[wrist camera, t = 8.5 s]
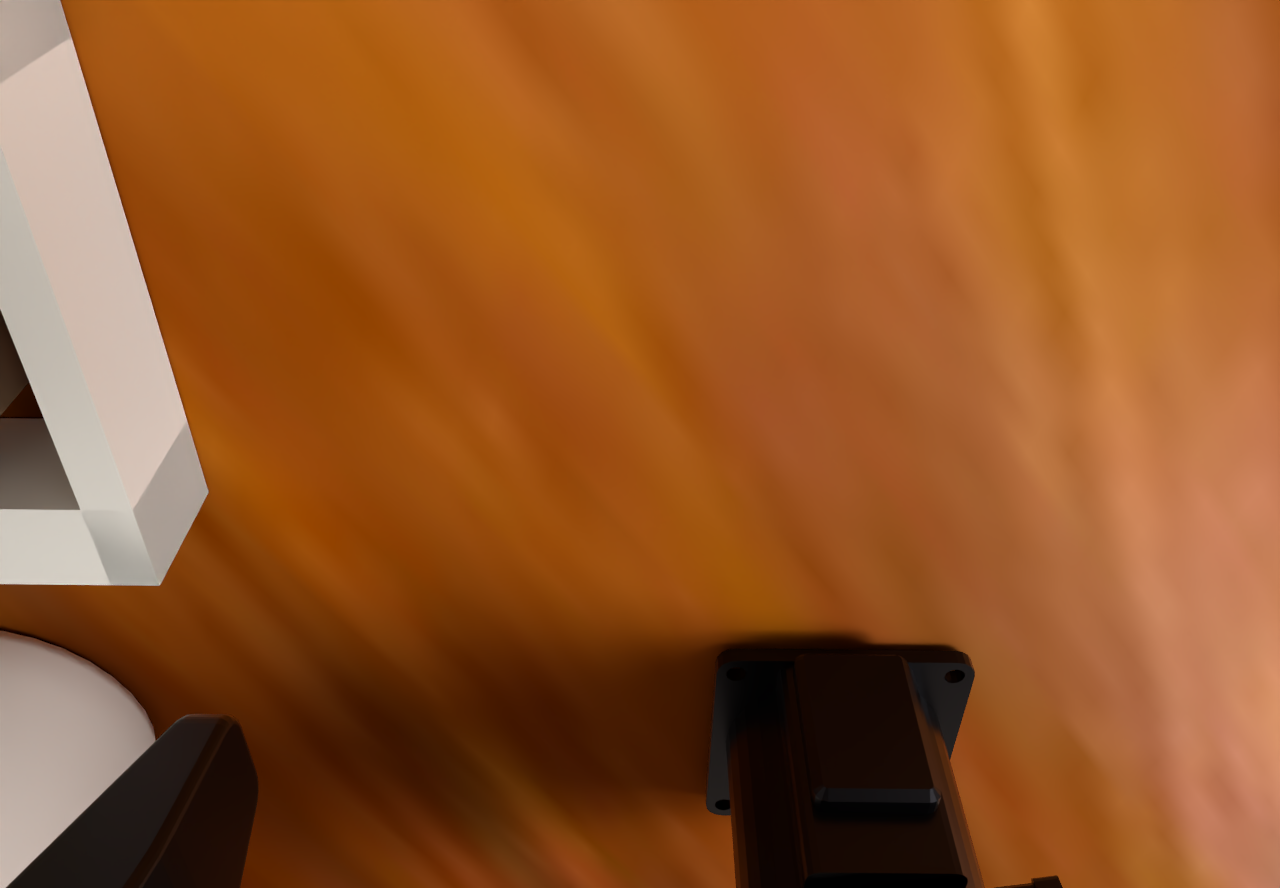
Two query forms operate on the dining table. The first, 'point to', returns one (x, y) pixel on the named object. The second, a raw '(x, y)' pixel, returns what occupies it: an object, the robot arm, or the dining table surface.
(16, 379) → the walnut block
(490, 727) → the dining table surface
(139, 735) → the milk bottle
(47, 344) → the grey divided tray
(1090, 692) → the dining table surface
